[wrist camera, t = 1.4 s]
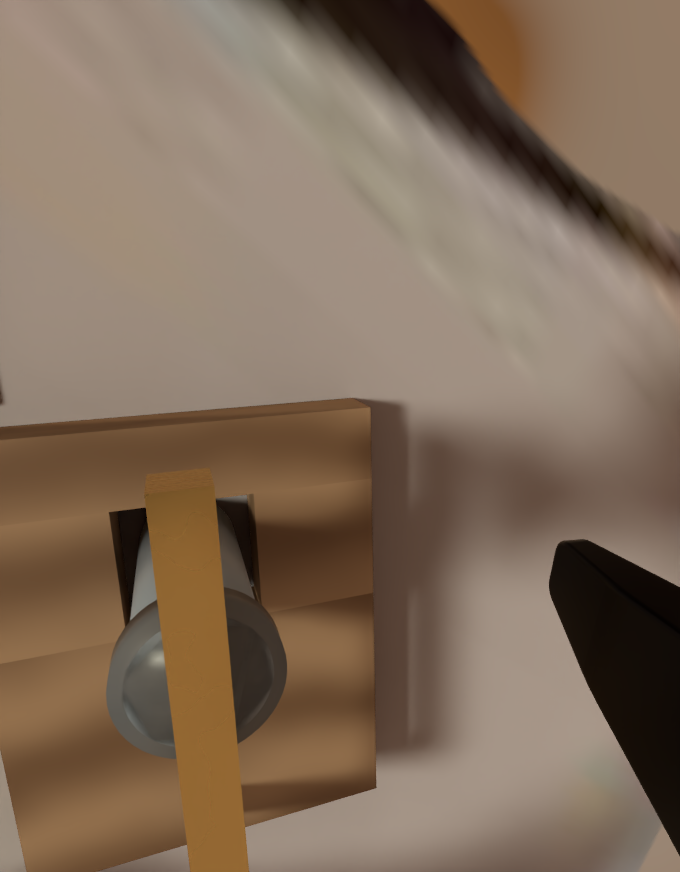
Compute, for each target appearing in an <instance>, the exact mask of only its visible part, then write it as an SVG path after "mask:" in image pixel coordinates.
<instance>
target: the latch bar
mask: <svg viewBox="0 0 680 872" xmlns="http://www.w3.org/2000/svg"><path fill="white" fill-rule="evenodd" d="M144 497H145V505H146V514H147V522H148V530H149V538H150V546H151V554H152V562H153V571H154V579H155V587H156V595H157V603H158V611H159V619H160V628H161V636H162V644H163V652H164V660H165V668H166V676H167V685H168V693H169V701H170V709H171V717H172V725H173V733H174V742H175V750H176V758H177V766H178V774H179V782H180V790H181V799H182V807H183V815H184V823H185V831H186V839H187V847H188V856H189V864H190V872H249V868H248V856H247V845H246V834H245V823H244V812H243V800H242V789H241V778H240V767H239V756H238V744H237V733H236V722H235V711H234V700H233V688H232V677H231V666H230V655H229V644H228V632H227V621H226V610H225V599H224V588H223V576H222V565H221V554H220V543H219V532H218V520H217V509H216V498H215V487H214V482H213V479H212V475H211V471H210V467H209V468H200V469H191V470H182V471H173V472H164V473H155V474H147V475H146V483H145V491H144Z"/></svg>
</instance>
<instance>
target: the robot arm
mask: <svg viewBox="0 0 680 872" xmlns="http://www.w3.org/2000/svg"><path fill="white" fill-rule="evenodd" d="M549 591H550V595H551V598H552V601H553V603H554V606H555V608H556V610H557V613H558V615H559V618H560V620H561V622H562V625H563V627H564V630H565V632H566V634H567V637H568V639H569V642H570V644H571V647H572V649H573V651H574V654H575V656H576V659H577V661H578V663H579V666H580V668H581V671H582V673H583V675H584V677H585V680H586V682H587V684H588V686H589V688H590V690H591V692H592V694H593V696H594V698H595V700H596V702H597V704H598V706H599V708H600V709H601V711H602V713H603V715H604V717H605V719H606V721H607V722H608V724H609V726H610V728H611V730H612V732H613V733H614V735H615V737H616V739H617V741H618V743H619V745H620V746H621V748H622V750H623V752H624V754H625V756H626V758H627V759H628V761H629V763H630V765H631V767H632V769H633V770H634V772H635V774H636V776H637V778H638V780H639V782H640V783H641V785H642V787H643V789H644V791H645V793H646V795H647V796H648V798H649V800H650V802H651V804H652V806H653V807H654V809H655V811H656V813H657V815H658V817H659V819H660V820H661V822H662V824H663V826H664V828H665V830H666V831H667V833H668V835H669V837H670V839H671V841H672V843H673V844H674V846H675V848H676V850H677V852H678V854H679V856H680V587H678V586H676V585H674V584H672V583H671V582H669V581H667V580H665V579H663V578H661V577H659V576H657V575H655V574H653V573H651V572H649V571H647V570H645V569H643V568H641V567H639V566H637V565H635V564H633V563H632V562H630V561H628V560H626V559H624V558H622V557H620V556H618V555H616V554H614V553H612V552H610V551H608V550H606V549H604V548H602V547H600V546H598V545H596V544H595V543H593V542H591V541H588V540H585V539H578V540H566V541H562V542H560V543H559V544H558V546H557V548H556V551H555V556H554V561H553V565H552V570H551V575H550V579H549Z"/></svg>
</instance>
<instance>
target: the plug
mask: <svg viewBox="0 0 680 872" xmlns="http://www.w3.org/2000/svg"><path fill="white" fill-rule="evenodd" d="M216 509H217V520H218V532H219V543H220V554H221V565H222V576H223V588H224V599H225V610H226V621H227V632H228V644H229V655H230V666H231V677H232V688H233V700H234V711H235V722H236V733H237V744H239V743H240V742H242V741H243V740H245V739H246V738H248V737H249V736H251V735H252V734H253V733H254V732H255V731H256V730H258V729H259V728H260V727H261V726H262V725H263V724H264V723H265V721H266V720H267V719H268V718H269V716H270V715H271V714H272V713H273V711H274V709H275V708H276V706H277V704H278V703H279V700H280V698H281V696H282V694H283V691H284V687H285V684H286V678H287V659H286V653H285V650H284V647H283V644H282V641H281V638H280V635H279V632H278V629H277V626H276V624H275V622H274V620H273V618H272V617H271V615H270V614H269V613H268V611H267V610H266V609H265V608H264V607H263V606H262V605H261V604H260V603H259V602H257V601H256V600H255V598H254V595H253V591H252V588H251V585H250V581H249V578H248V575H247V571H246V568H245V565H244V561H243V558H242V555H241V551H240V548H239V544H238V541H237V538H236V534H235V531H234V528H233V525H232V522H231V520H230V518H229V517H228V515H227V514H226V513H225V512H224V511H223V510H222V509H221V508H220V507H218V506H217V505H216ZM106 700H107V707H108V711H109V715H110V717H111V719H112V722H113V724H114V725H115V727H116V728H117V730H118V731H119V733H120V734H121V735H122V736H123V737H124V738H125V739H126V740H127V741H128V742H130V743H131V744H132V745H133V746H135V747H137V748H139V749H140V750H142V751H144V752H147V753H149V754H152V755H155V756H159V757H163V758H170V759H177V758H176V750H175V742H174V733H173V725H172V717H171V709H170V701H169V693H168V685H167V676H166V668H165V660H164V652H163V644H162V636H161V628H160V619H159V611H158V603H157V595H156V587H155V579H154V571H153V562H152V554H151V546H150V538H149V530H148V522H147V521H146V523H145V524H144V526H143V529H142V531H141V535H140V540H139V549H138V557H137V566H136V574H135V583H134V591H133V600H132V608H131V617H130V622H129V623H128V624H127V626H126V627H125V628H124V629H123V631H122V633H121V634H120V636H119V638H118V640H117V642H116V644H115V647H114V649H113V652H112V657H111V661H110V667H109V673H108V680H107V688H106Z"/></svg>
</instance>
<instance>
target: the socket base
mask: <svg viewBox="0 0 680 872" xmlns="http://www.w3.org/2000/svg"><path fill="white" fill-rule="evenodd" d="M209 467H210V471H211V475H212V479H213V482H214V487H215V498H223V497H231V496H239V495H247V500H248V514H249V527H250V541H251V554H252V568H253V581H254V587H251V588H252V591H253V595H254V598H255V600H256V601H257V602H259V603H260V604H261V605H262V606H263V607H264V608H265V609H266V610H267V611H268V613H269V614H270V615H271V617H272V618H273V620H274V622H275V624H276V626H277V629H278V632H279V635H280V638H281V641H282V644H283V647H284V650H285V653H286V659H287V678H286V684H285V687H284V691H283V694H282V696H281V698H280V700H279V703H278V704H277V706H276V708H275V709H274V711H273V713H272V714H271V715H270V716H269V718H268V719H267V720H266V721H265V723H264V724H263V725H262V726H261V727H260V728H259V729H258V730H256V731H255V732H254V733H253V734H252V735H251V736H249V737H248V738H246V739H245V740H243V741H242V742H240V743H239V744H238V756H239V767H240V778H241V789H242V800H243V812H244V823H245V827H247V826H251V825H254V824H257V823H261V822H264V821H267V820H271V819H274V818H277V817H281V816H284V815H287V814H291V813H294V812H298V811H301V810H304V809H308V808H311V807H314V806H318V805H321V804H324V803H328V802H331V801H334V800H338V799H341V798H344V797H348V796H351V795H354V794H358V793H361V792H365V791H368V790H371V789H375V788H376V737H375V671H374V606H373V541H372V476H371V411H370V407H369V406H367V405H365V404H363V403H361V402H359V401H357V400H355V399H353V398H346V399H334V400H322V401H310V402H298V403H286V404H274V405H262V406H250V407H238V408H226V409H214V410H202V411H189V412H177V413H165V414H153V415H141V416H129V417H117V418H105V419H93V420H81V421H69V422H57V423H45V424H33V425H21V426H8V427H0V750H1V755H2V760H3V764H4V769H5V773H6V778H7V783H8V787H9V792H10V796H11V801H12V806H13V810H14V815H15V820H16V824H17V829H18V833H19V838H20V843H21V847H22V852H23V856H24V861H25V866H26V870H27V872H96V871H100V870H103V869H107V868H110V867H113V866H117V865H120V864H123V863H127V862H130V861H133V860H137V859H140V858H143V857H147V856H150V855H153V854H157V853H160V852H163V851H167V850H170V849H174V848H177V847H180V846H184V845H187V839H186V831H185V823H184V815H183V807H182V799H181V790H180V782H179V774H178V766H177V759H170V758H163V757H159V756H155V755H152V754H149V753H147V752H144V751H142V750H140V749H139V748H137V747H135V746H133V745H132V744H131V743H130V742H128V741H127V740H126V739H125V738H124V737H123V736H122V735H121V734H120V733H119V731H118V730H117V728H116V727H115V725H114V724H113V722H112V719H111V717H110V715H109V711H108V707H107V700H106V688H107V680H108V673H109V667H110V661H111V657H112V652H113V649H114V647H115V644H116V642H117V640H118V638H119V636H120V634H121V633H122V631H123V629H124V628H125V627H126V626H127V624H128V623H129V622H130V617H131V608H130V601H129V594H128V586H127V579H126V572H125V564H124V557H123V550H122V542H121V535H120V528H119V520H118V513H117V511H122V510H130V509H137V508H145V507H146V505H145V497H144V491H145V483H146V475H147V474H155V473H164V472H173V471H182V470H191V469H200V468H209Z"/></svg>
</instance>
